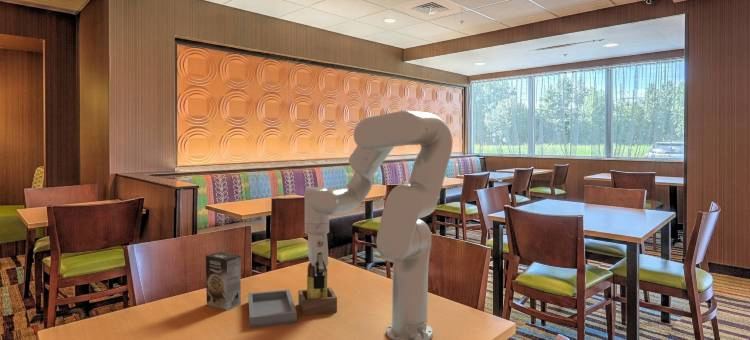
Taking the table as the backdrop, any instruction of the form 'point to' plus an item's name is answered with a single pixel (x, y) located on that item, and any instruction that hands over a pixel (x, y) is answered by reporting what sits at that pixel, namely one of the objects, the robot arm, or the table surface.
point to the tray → (271, 308)
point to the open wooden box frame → (317, 303)
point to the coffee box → (223, 280)
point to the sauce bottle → (311, 291)
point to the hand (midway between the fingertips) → (317, 284)
